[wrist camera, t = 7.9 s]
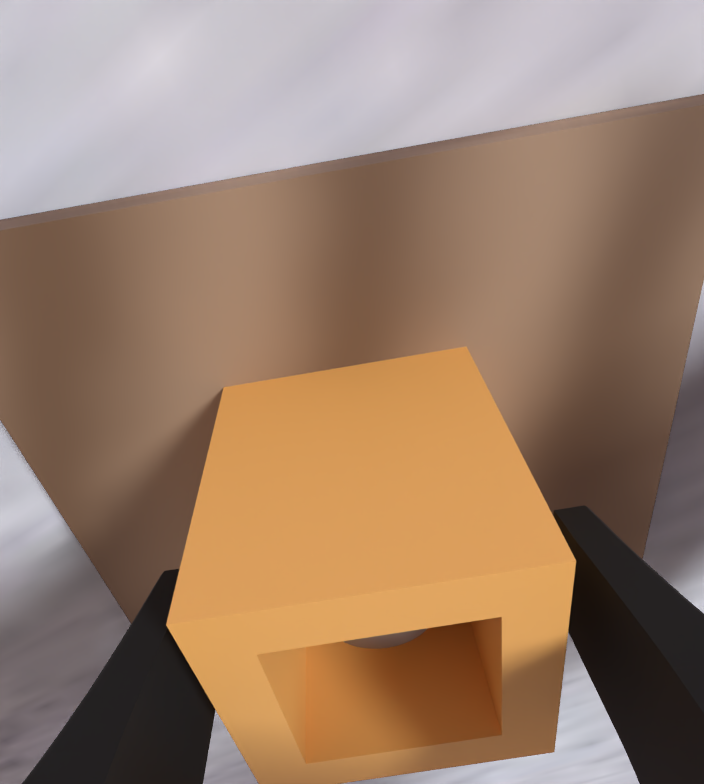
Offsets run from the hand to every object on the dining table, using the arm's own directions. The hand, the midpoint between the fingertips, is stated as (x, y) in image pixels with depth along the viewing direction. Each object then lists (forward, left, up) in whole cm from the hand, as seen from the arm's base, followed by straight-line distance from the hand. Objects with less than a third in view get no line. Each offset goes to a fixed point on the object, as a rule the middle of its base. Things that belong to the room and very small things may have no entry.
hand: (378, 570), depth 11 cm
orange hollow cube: (0, 0, -4) cm, 4 cm away
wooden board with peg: (0, 0, -4) cm, 4 cm away
